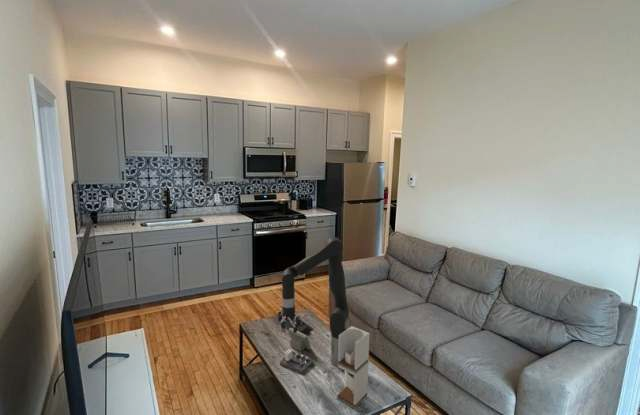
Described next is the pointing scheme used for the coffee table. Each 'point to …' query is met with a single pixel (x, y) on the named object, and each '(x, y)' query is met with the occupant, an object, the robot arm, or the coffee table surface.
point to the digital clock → (299, 340)
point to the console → (297, 362)
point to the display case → (354, 365)
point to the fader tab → (288, 355)
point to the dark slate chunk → (299, 327)
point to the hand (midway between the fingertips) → (289, 330)
